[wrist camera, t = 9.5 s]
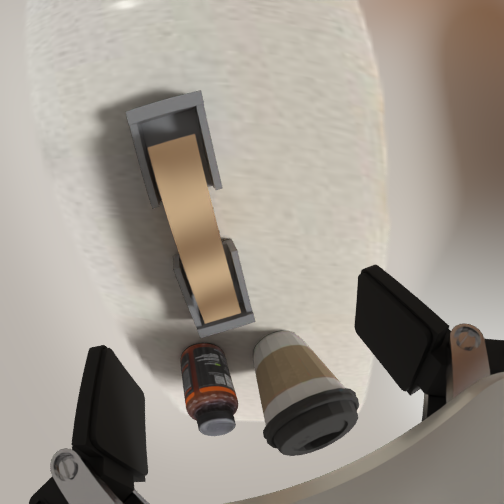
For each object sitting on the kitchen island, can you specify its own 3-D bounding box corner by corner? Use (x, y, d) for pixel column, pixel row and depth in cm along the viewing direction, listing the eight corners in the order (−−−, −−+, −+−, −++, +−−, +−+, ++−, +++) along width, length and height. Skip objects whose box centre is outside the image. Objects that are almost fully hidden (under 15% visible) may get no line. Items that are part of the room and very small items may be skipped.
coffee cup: (248, 384, 38) (278, 467, 25) (227, 335, 33) (259, 438, 20) (316, 358, 40) (361, 432, 27) (310, 305, 35) (372, 390, 21)
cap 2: (247, 304, 32) (255, 321, 29) (197, 319, 31) (200, 338, 28) (231, 238, 28) (238, 252, 25) (173, 255, 27) (173, 271, 24)
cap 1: (132, 115, 20) (125, 111, 17) (198, 96, 21) (201, 90, 18) (155, 200, 24) (152, 209, 21) (217, 182, 25) (223, 189, 22)
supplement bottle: (184, 373, 34) (194, 443, 24) (176, 344, 32) (182, 419, 22) (226, 367, 36) (245, 435, 26) (222, 337, 33) (243, 410, 23)
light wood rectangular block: (154, 145, 22) (147, 147, 17) (192, 134, 22) (194, 133, 18) (199, 294, 29) (205, 323, 24) (231, 285, 29) (241, 313, 25)
